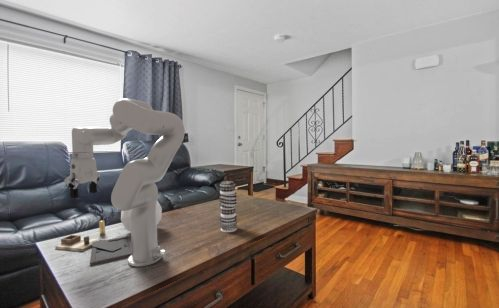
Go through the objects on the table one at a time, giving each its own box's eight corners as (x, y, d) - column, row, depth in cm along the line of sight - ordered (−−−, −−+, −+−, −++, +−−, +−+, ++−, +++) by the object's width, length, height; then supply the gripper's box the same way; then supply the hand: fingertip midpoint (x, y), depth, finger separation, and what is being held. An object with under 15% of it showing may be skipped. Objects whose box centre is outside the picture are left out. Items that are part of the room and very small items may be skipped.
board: (101, 242, 118) (100, 233, 118) (82, 251, 108) (82, 242, 108) (75, 239, 121) (75, 231, 121) (55, 248, 111) (54, 239, 111)
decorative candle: (237, 232, 126) (235, 183, 125) (218, 232, 127) (217, 183, 125) (238, 226, 136) (237, 180, 134) (221, 226, 136) (219, 180, 134)
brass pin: (106, 233, 128) (105, 220, 128) (102, 235, 126) (101, 221, 125) (102, 233, 129) (101, 220, 128) (98, 235, 126) (97, 221, 126)
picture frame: (92, 246, 114) (90, 266, 96) (92, 241, 114) (89, 261, 96) (131, 238, 122) (136, 256, 104) (131, 234, 122) (135, 251, 103)
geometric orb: (144, 240, 136) (155, 205, 146) (162, 236, 123) (173, 198, 134) (108, 231, 125) (123, 193, 136) (123, 225, 112) (138, 184, 123)
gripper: (72, 158, 99) (73, 201, 100) (106, 154, 116) (106, 191, 117) (56, 157, 101) (58, 199, 102) (92, 154, 117) (93, 190, 119)
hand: (84, 195), depth 110 cm, fingers open, 9 cm apart
